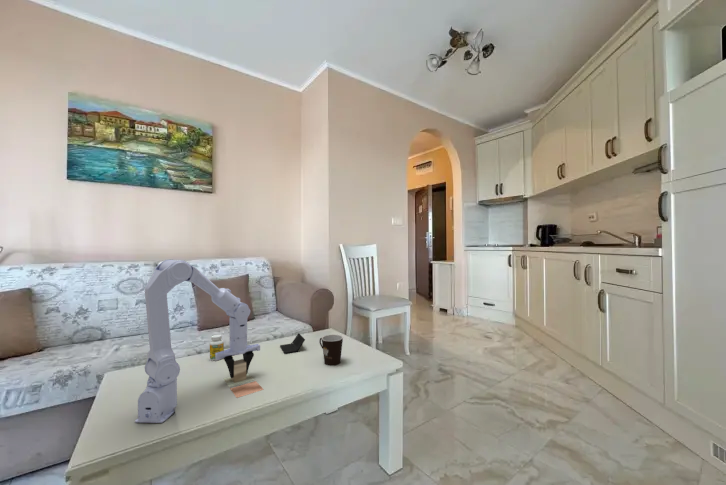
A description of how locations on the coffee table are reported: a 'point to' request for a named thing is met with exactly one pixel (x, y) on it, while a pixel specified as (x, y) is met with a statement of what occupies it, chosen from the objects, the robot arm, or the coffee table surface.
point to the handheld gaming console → (293, 345)
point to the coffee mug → (332, 349)
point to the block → (239, 371)
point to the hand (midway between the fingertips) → (238, 375)
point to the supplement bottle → (216, 346)
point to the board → (243, 386)
